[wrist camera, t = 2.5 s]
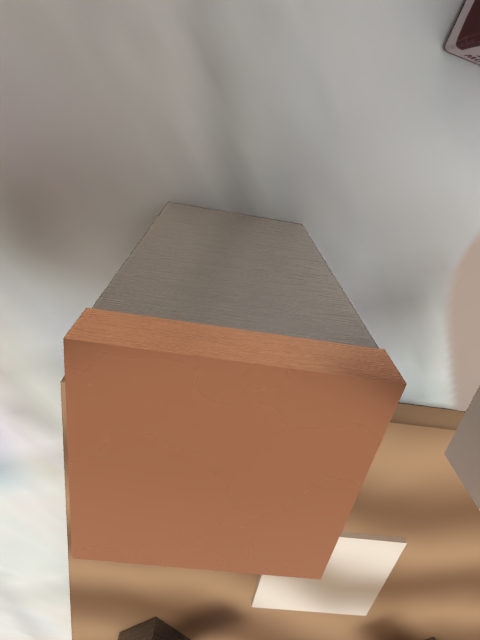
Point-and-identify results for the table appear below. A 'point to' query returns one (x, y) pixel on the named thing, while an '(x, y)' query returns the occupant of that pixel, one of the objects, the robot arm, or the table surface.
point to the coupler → (221, 401)
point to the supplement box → (466, 33)
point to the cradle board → (341, 571)
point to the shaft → (151, 631)
